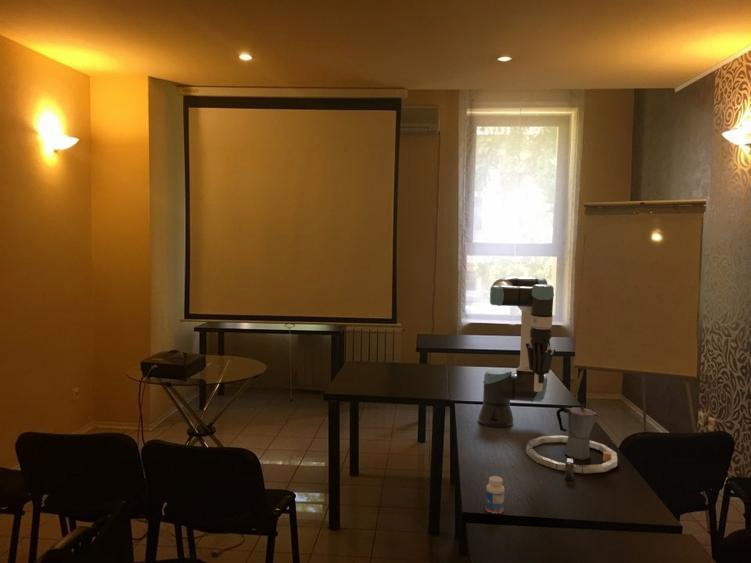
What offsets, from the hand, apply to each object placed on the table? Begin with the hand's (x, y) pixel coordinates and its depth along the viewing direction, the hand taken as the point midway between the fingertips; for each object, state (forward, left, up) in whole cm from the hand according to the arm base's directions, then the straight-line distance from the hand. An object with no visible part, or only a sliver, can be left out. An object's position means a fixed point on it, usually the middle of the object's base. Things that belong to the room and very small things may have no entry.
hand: (538, 390), depth 216 cm
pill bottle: (+26, -39, -26) cm, 54 cm away
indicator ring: (+6, +12, -25) cm, 29 cm away
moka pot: (+4, +17, -26) cm, 31 cm away
